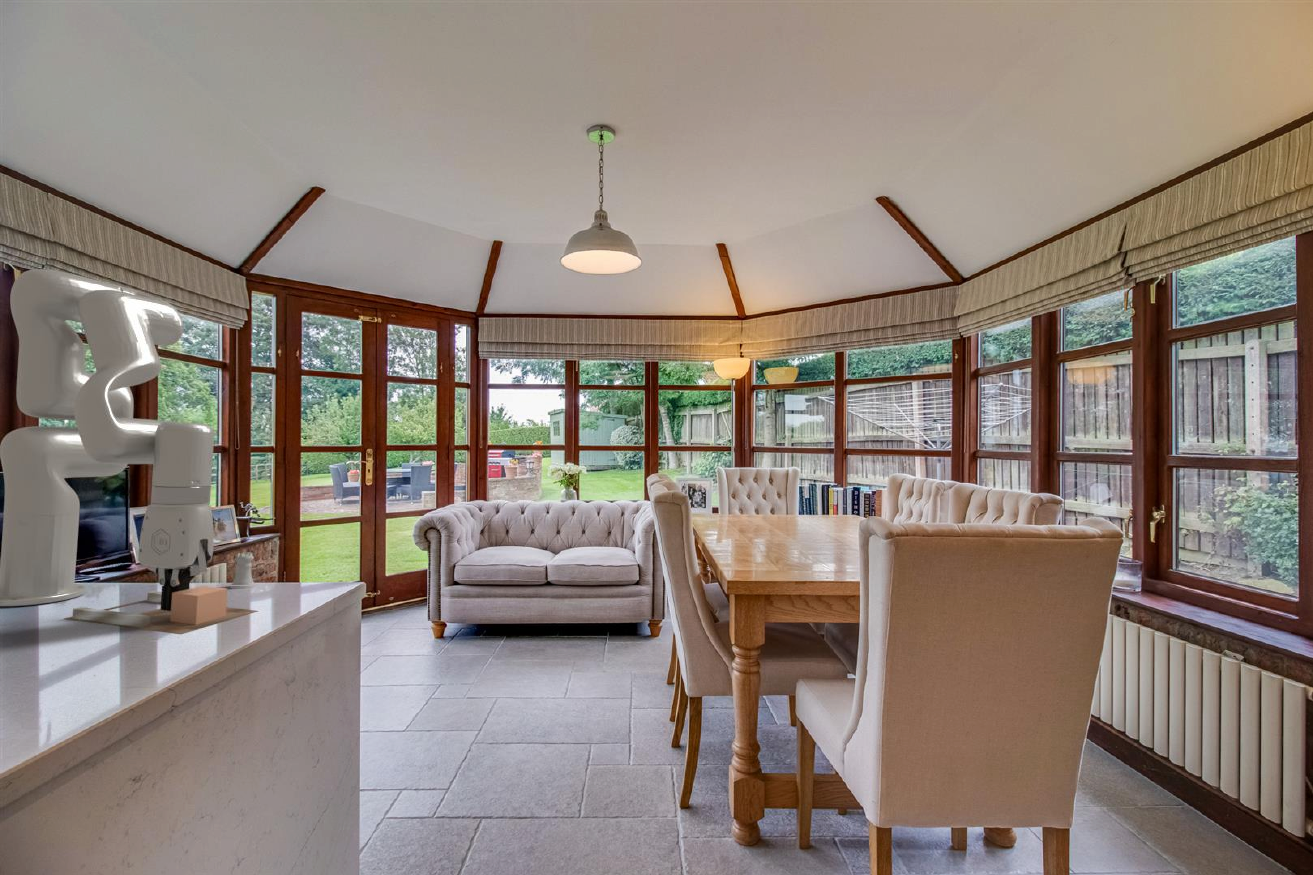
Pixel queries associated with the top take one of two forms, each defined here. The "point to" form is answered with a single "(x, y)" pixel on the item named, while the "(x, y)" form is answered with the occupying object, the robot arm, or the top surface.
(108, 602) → the top surface
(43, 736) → the top surface
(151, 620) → the tan rectangular frame
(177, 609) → the block
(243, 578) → the rook chess piece
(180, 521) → the robot arm
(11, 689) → the top surface
